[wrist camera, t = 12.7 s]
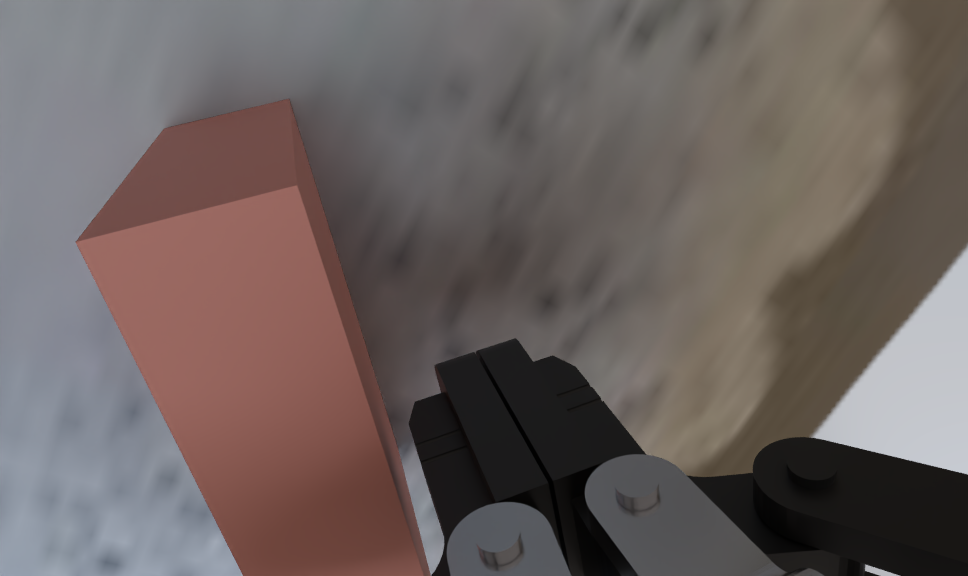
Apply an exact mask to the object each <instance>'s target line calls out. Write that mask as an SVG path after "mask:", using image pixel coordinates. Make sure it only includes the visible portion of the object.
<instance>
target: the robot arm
mask: <svg viewBox="0 0 968 576" xmlns="http://www.w3.org/2000/svg"><path fill="white" fill-rule="evenodd" d="M435 371H436V375H437V379H438V382H439V386H440V390H441V393H440V394H437V395H434V396H431V397H428V398H425V399H422V400H419V401H416V402H415V403H414V407H413V410H412V414H411V417H410V421H409V426H410V430H411V433H412V436H413V439H414V443H415V446H416V449H417V452H418V456H419V459H420V462H421V465H422V469H423V472H424V475H425V478H426V482H427V485H428V488H429V491H430V494H431V498H432V501H433V504H434V507H435V510H436V513H437V516H438V519H439V523H440V526H441V529H442V532H443V535H444V550H443V555H442V557H441V560H440V563H439V564H438V566H437V568H436V570H435V571H434V573H433V574H432V576H879V575H876V574H873V573H870V572H867V571H865V564H866V565H869V566H872V567H875V568H878V569H882V570H885V571H887V572H891V573H894V574H897V575H900V576H968V475H967V474H963V473H959V472H955V471H950V470H947V469H942V468H938V467H934V466H930V465H926V464H922V463H917V462H913V461H909V460H905V459H901V458H897V457H892V456H888V455H884V454H879V453H876V452H871V451H867V450H863V449H859V448H855V447H851V446H847V445H842V444H838V443H834V442H830V441H826V440H821V439H816V438H806V437H795V438H787V439H783V440H779V441H776V442H774V443H771V444H769V445H768V446H766V447H765V448H763V449H762V450H761V451H760V452H759V453H758V455H757V456H756V458H755V460H754V464H753V473H748V474H737V475H727V476H717V477H692V476H686V475H685V474H684V473H683V472H682V471H681V470H680V469H679V468H678V467H677V466H676V465H674V464H672V463H671V462H669V461H667V460H664V459H662V458H659V457H655V456H651V455H646V454H645V452H644V451H643V450H642V449H641V448H640V446H639V445H638V444H637V443H636V441H635V440H634V439H633V438H632V436H631V435H630V434H629V433H628V431H627V430H626V429H625V428H624V426H623V425H622V424H621V423H620V421H619V420H618V419H617V418H616V416H615V415H614V414H613V413H612V411H611V410H610V409H609V408H608V406H607V405H606V404H605V403H604V401H603V402H602V401H601V398H600V396H599V395H598V394H597V393H596V392H595V390H594V389H593V388H592V387H590V385H589V383H588V382H587V380H586V379H585V378H584V377H583V375H582V374H581V373H580V372H579V370H578V369H577V368H576V367H575V366H573V365H571V364H569V363H567V362H565V361H563V360H561V359H559V358H557V357H555V356H550V357H547V358H544V359H541V360H538V361H535V362H533V361H532V360H531V358H530V357H529V355H528V354H527V353H526V351H525V350H524V348H523V347H522V345H521V344H520V343H519V341H518V340H517V339H512V340H509V341H506V342H503V343H499V344H496V345H493V346H490V347H487V348H484V349H481V350H478V351H476V354H475V353H474V352H473V353H469V354H466V355H463V356H460V357H457V358H454V359H451V360H448V361H445V362H442V363H439V364H436V365H435Z"/></svg>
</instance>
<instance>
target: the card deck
mask: <svg viewBox="0 0 968 576" xmlns="http://www.w3.org/2000/svg"><path fill="white" fill-rule="evenodd" d="M76 244H77V246H78V248H79V250H80V252H81V254H82V256H83V258H84V260H85V262H86V264H87V266H88V268H89V270H90V272H91V274H92V276H93V278H94V280H95V282H96V284H97V286H98V288H99V290H100V292H101V294H102V296H103V298H104V300H105V302H106V304H107V306H108V308H109V310H110V312H111V314H112V316H113V318H114V320H115V322H116V324H117V326H118V328H119V330H120V332H121V334H122V336H123V337H124V339H125V341H126V343H127V345H128V347H129V349H130V351H131V353H132V355H133V357H134V359H135V361H136V363H137V365H138V367H139V369H140V371H141V373H142V375H143V377H144V379H145V381H146V383H147V385H148V387H149V389H150V391H151V393H152V395H153V397H154V399H155V401H156V403H157V405H158V407H159V409H160V411H161V413H162V415H163V417H164V419H165V421H166V423H167V425H168V427H169V429H170V431H171V433H172V435H173V437H174V439H175V441H176V443H177V445H178V447H179V449H180V451H181V453H182V455H183V457H184V459H185V461H186V463H187V465H188V467H189V469H190V471H191V473H192V475H193V477H194V479H195V481H196V483H197V485H198V487H199V489H200V491H201V493H202V495H203V497H204V499H205V501H206V503H207V505H208V507H209V509H210V511H211V513H212V515H213V517H214V519H215V521H216V523H217V525H218V527H219V529H220V531H221V533H222V535H223V537H224V539H225V541H226V543H227V545H228V547H229V549H230V551H231V553H232V555H233V556H234V558H235V560H236V562H237V564H238V566H239V568H240V570H241V572H242V574H243V576H431V575H430V571H429V567H428V563H427V560H426V556H425V552H424V548H423V544H422V540H421V536H420V532H419V528H418V525H417V521H416V517H415V513H414V509H413V505H412V501H411V497H410V494H409V490H408V486H407V482H406V478H405V474H404V470H403V466H402V462H401V459H400V455H399V451H398V447H397V444H396V441H395V438H394V434H393V431H392V428H391V425H390V421H389V418H388V415H387V412H386V409H385V405H384V402H383V399H382V396H381V393H380V389H379V386H378V383H377V380H376V376H375V373H374V370H373V367H372V364H371V360H370V357H369V354H368V351H367V348H366V344H365V341H364V338H363V335H362V332H361V328H360V325H359V322H358V319H357V315H356V312H355V309H354V306H353V303H352V299H351V296H350V293H349V290H348V287H347V283H346V280H345V277H344V274H343V271H342V267H341V264H340V261H339V258H338V254H337V251H336V248H335V245H334V242H333V238H332V235H331V232H330V229H329V226H328V222H327V219H326V216H325V213H324V209H323V206H322V203H321V200H320V197H319V193H318V190H317V187H316V184H315V181H314V177H313V174H312V171H311V168H310V165H309V161H308V158H307V155H306V152H305V148H304V145H303V142H302V139H301V136H300V132H299V129H298V126H297V123H296V120H295V116H294V113H293V110H292V107H291V103H290V100H289V99H286V100H282V101H278V102H273V103H269V104H265V105H261V106H257V107H252V108H248V109H244V110H240V111H236V112H231V113H227V114H223V115H219V116H215V117H210V118H206V119H202V120H198V121H194V122H189V123H185V124H181V125H177V126H172V127H168V128H164V129H163V131H162V132H161V133H160V135H159V136H158V137H157V138H156V140H155V141H154V142H153V144H152V145H151V146H150V147H149V149H148V150H147V151H146V152H145V154H144V155H143V156H142V158H141V159H140V160H139V161H138V163H137V164H136V165H135V167H134V168H133V169H132V170H131V172H130V173H129V174H128V176H127V177H126V178H125V179H124V181H123V182H122V183H121V185H120V186H119V187H118V188H117V190H116V191H115V192H114V194H113V195H112V196H111V197H110V199H109V200H108V201H107V203H106V204H105V205H104V206H103V208H102V209H101V210H100V211H99V213H98V214H97V215H96V217H95V218H94V219H93V220H92V222H91V223H90V224H89V226H88V227H87V228H86V229H85V231H84V232H83V233H82V235H81V236H80V237H79V238H78V240H77V241H76Z"/></svg>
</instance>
